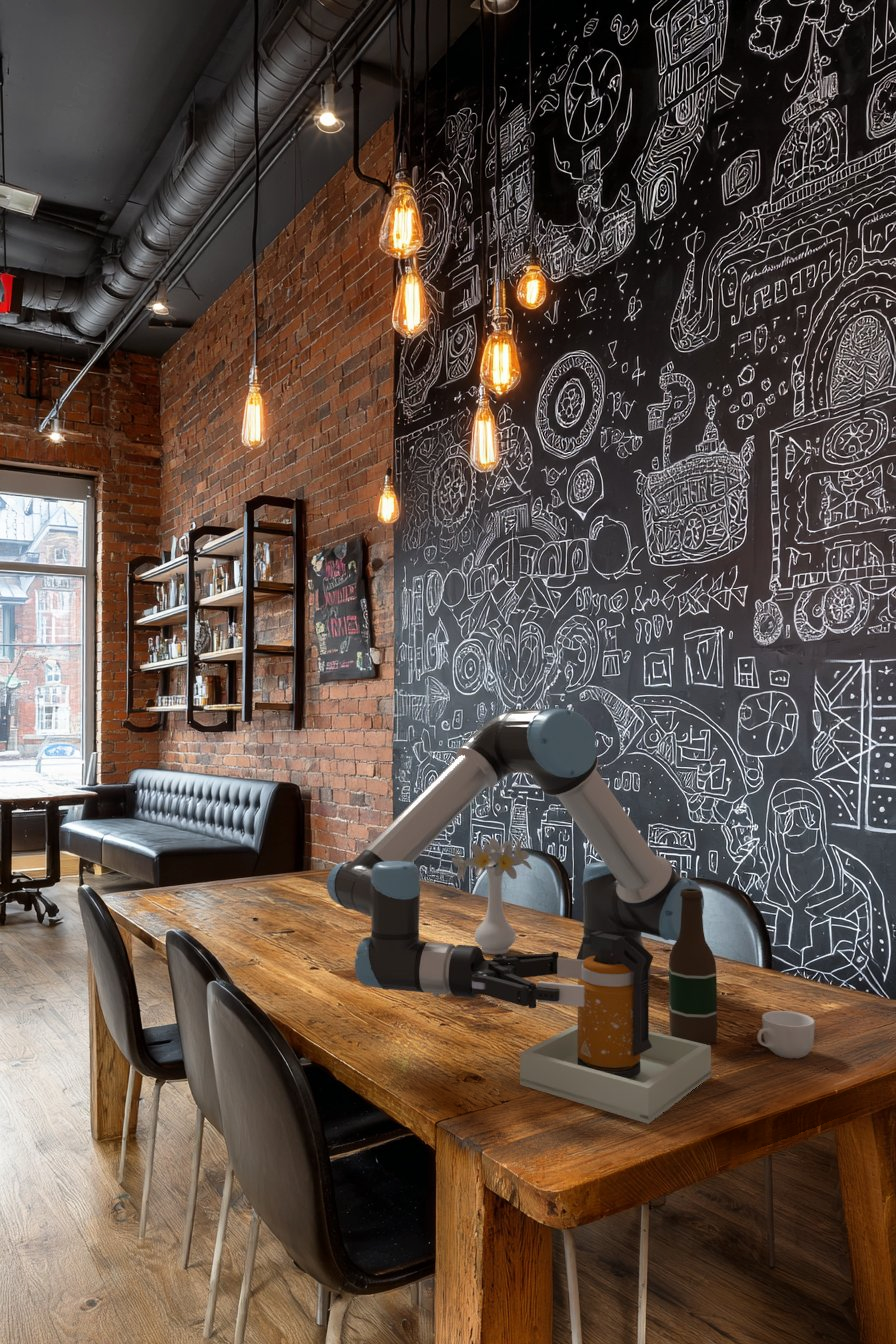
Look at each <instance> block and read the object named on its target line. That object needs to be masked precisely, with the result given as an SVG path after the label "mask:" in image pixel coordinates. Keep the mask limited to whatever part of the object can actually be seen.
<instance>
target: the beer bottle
mask: <svg viewBox="0 0 896 1344" xmlns="http://www.w3.org/2000/svg"><path fill="white" fill-rule="evenodd" d="M702 893H703V891H702V892H701V891H700V890H698V889H683V890H681V893H680V896H681V897H682V907H681V927H680V934H679V938H678V940H677V941H675V942H674V944H673V946H672V947H671V948H672V949H671V950H670V954H669V957H668V959H669V960H668V995H669V996H668V1001H669V1002H668V1006H669V1008H668V1009H669V1010H668V1011H669V1013H668V1014H669V1017H668V1018H669V1019H668V1020H669V1033H670V1036H672V1037H676V1038H681V1039H685V1040H689V1041H693V1042H698V1043H702V1044H708V1045H710V1044H713V1043H715V1041H717V1037H718V997H717V996H718V994H717V993H718V990H717V989H718V988H717V987H718V985H717V982H718V981H717V980H718V979H717V964H716V959H715V956H714V953H713V952H712V949H711V948H710V946H709V945H708V942H707V941H706V938H705V937H706V936H705V932H704V919H703V916H702V903H701V899H702V898H703V897H704V894H703V895H702ZM712 1042H713V1043H712ZM709 1043H710V1044H709Z"/></svg>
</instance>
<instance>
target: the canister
mask: <svg viewBox="0 0 896 1344" xmlns="http://www.w3.org/2000/svg"><path fill="white" fill-rule="evenodd" d="M582 940H583V943H584V944H590V950H593V951H598V953H596V955H595V956H590V957H588V958H586V959H585V960H584V962H583V964H582V977H581V979H577V980H578V981H577V985H584V1004H585V1005H584V1007H581V1006H577V1024H578V1065H580V1066H584V1067H587V1068H591V1069H595V1070H598V1071H602V1072H606V1073H609V1074H613V1075H617V1076H620V1077H624V1078H627V1079H629V1078H633V1077H635V1076H637V1075H638V1074H639V1073H640V1053H642V1052H645V1051H646V1050H648V1049H650V1048H652V1045H651V1043H650V1041H649V1031H650V1029H649V1028H650V1026H649V1023H650V1021H649V1015H650V1013H649V1009H650V1008H649V998H650V997H649V993H650V980H649V968H650V969H651V965H652V962H653V960H654V959H653V958H654V955H652V953H650V952H649V951H648V950H647V949H646V948H645V946H644V947H642V946H641V945H640V944H639V943H638V942H637V941H636V940H635V939H634V938H632V937H631V936H630V935H629V934H628V935H627V936H625V937H621V936H616V935H611V934H605V933H603V932H601V931H597V932H594V933H591V934H589V936H586V937H583V936H582ZM582 940H581V941H582ZM632 946H633V947H634V948H635V949H636V950H637V951H638V952H639V953H640V954H639V953H638V952H637V951H636V950H635V949H634V948H633V947H632Z"/></svg>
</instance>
